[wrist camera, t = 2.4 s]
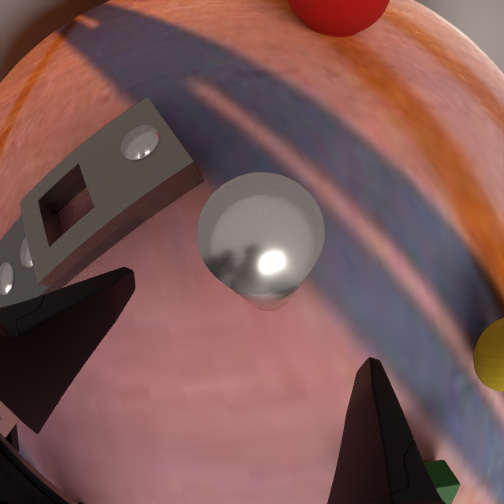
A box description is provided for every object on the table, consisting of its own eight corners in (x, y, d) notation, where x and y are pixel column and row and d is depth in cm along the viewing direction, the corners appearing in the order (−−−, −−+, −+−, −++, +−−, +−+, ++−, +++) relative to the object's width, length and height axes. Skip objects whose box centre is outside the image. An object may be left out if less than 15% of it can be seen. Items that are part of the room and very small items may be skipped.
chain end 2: (17, 329, 20) (5, 328, 18) (-1, 256, 22) (-11, 252, 20) (145, 221, 21) (135, 213, 19) (110, 150, 23) (102, 141, 22)
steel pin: (262, 320, 19) (242, 320, 7) (236, 281, 19) (175, 215, 7) (302, 293, 19) (349, 244, 7) (275, 255, 20) (274, 152, 8)
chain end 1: (60, 289, 20) (36, 283, 17) (38, 212, 23) (18, 201, 19) (203, 181, 21) (192, 159, 18) (158, 117, 24) (146, 95, 20)
